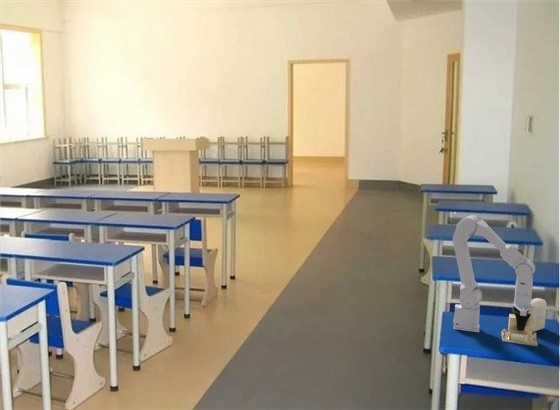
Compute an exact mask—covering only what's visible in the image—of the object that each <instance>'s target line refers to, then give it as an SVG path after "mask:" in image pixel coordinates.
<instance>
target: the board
mask: <svg viewBox="0 0 560 410" xmlns="http://www.w3.org/2000/svg"><path fill="white" fill-rule="evenodd" d="M508 315H509V316H508V324H507V325H508V326H507V327H508V328H507V332H510V333H513V334H521V335H529V336H532V335H533V332H532V331H533V317H531V316H530V317H529V319H528V320H527V323H526V326H525V329H524V331H519V330H517V321H516V317H515V314H514V313H509V314H508Z"/></svg>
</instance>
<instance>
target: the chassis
mask: <svg viewBox="0 0 560 410" xmlns="http://www.w3.org/2000/svg"><path fill="white" fill-rule="evenodd" d="M500 335H501V340H502V341H501V342H505V343H511V344H518V345H525V346H526V345H527V346H533V347H538V345H539V343H538V340H537V332H532V336H529V335H521V334H513V333H510V332H508V330H507V329H506V328H503V329H502V330H501V331H500Z"/></svg>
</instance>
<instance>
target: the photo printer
mask: <svg viewBox="0 0 560 410" xmlns="http://www.w3.org/2000/svg"><path fill="white" fill-rule="evenodd" d="M547 304H548V303H547V302H546V300H545V299H544V298H543V299H542V298H540V297H535V298H533V299H532V298H531V305H534V308H530V309H529V311H528V313H529V314H531V317H533V331H532V333H535V332H537V331H539V330H544V328H545V326H546V315H547V306H548V305H547Z"/></svg>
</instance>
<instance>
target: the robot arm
mask: <svg viewBox="0 0 560 410" xmlns="http://www.w3.org/2000/svg"><path fill="white" fill-rule="evenodd" d="M472 235H473V236H477V237H478V236H479V237H483V238H484V239H486V240H487V241H488V242H489V243H490V244H492V245H493V246H494V247H495V248H496V249H497V250H498V251H499V253H500V254H499V255H500V257H501V258H502V260H504V261H505V262H506V263H507V264H508V265H509V266H510V267H512V269H514V273H515V275H516V279H515V288H514V289H515V291H514V300H513V304H512V309H513V314H514V315H515V317H516V321H517V330H519V331H524V329H525V326H526V323H527V320H528V319H529V317H530V316H531V314H529V313H528V311H529V309H530V308H534V305H531V300H532V297H533V296H532V295H533V294H532V293H533V285H534V284H533V283H534V282H533V280H534V273H535V272H536V265H535V263H534V262H533V260H531V259H530V258H528V257H527V256H524V255H523V254H522V253H521V252H520V251H518V250H519V249H518V247H517V246H513V244H506V242H505V241H504V240H503V239H502V238H501V237H500V236H499V235H498V234H497V233H496V232H495V231H494V230H493V229H492V228H491V227H490V226H489V225H488V224H487V222H486V221H485V220H483V219H481V216H479V215H477V214H470V215H468V216H466V217H464V218H462V219H460V220H459V221H458V223H457V224H456V227H455V229H454V233H453V236H452V244H453V248H454V254H455V258H456V264H457V267H458V274H459V279H460V287H459V292H460V295H459V303H460V304H458V303H457V304H455V305H454V316H453V320H452V323H453V330H459V331H464V332H474V333H480V323H479V322H480V310H481V305H480V301H481V300H482V298H483V292H482V290H481V289H480V288H479V284H478V282H477V281H476V278H475V275H474V270H473V265H472V259H471V255H470V254H471V253H470V247H469V244H468V240H469V238H470V237H471V236H472Z"/></svg>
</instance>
